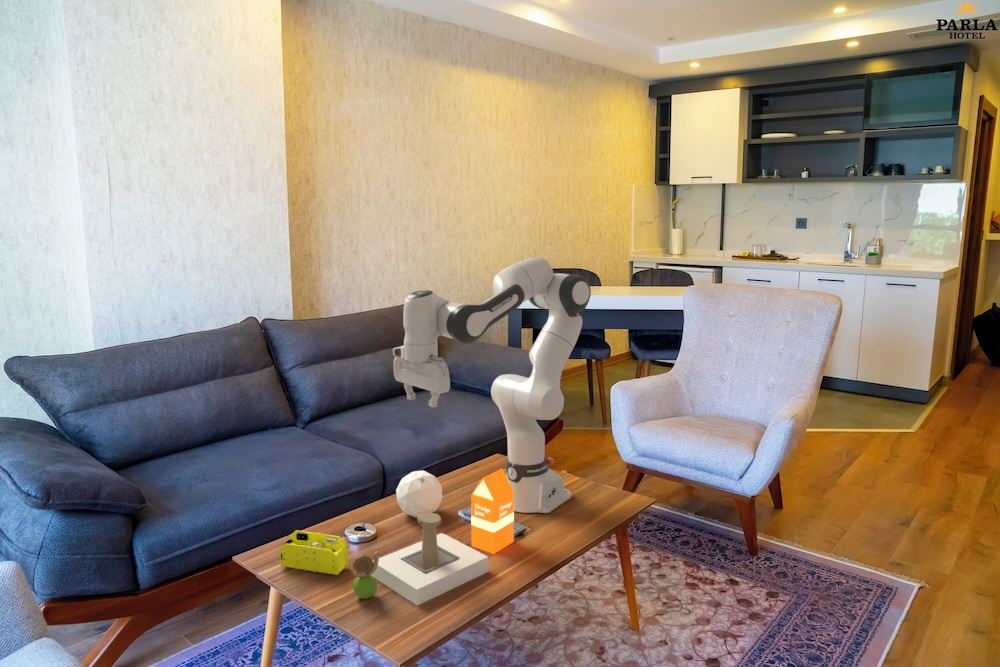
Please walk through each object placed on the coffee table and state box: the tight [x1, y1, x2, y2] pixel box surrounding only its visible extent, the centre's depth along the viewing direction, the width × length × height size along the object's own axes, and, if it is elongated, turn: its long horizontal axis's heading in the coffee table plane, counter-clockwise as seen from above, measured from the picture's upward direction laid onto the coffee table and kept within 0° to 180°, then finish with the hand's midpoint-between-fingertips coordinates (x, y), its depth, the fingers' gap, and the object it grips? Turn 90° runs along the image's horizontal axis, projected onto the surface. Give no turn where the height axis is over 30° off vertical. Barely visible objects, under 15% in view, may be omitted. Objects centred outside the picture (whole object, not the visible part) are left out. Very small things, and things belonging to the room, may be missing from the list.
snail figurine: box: [352, 546, 381, 600], centre depth 167 cm, size 5×6×12 cm
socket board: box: [371, 532, 489, 606], centre depth 178 cm, size 22×18×4 cm
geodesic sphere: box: [395, 469, 444, 519], centre depth 210 cm, size 14×14×14 cm
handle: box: [416, 512, 442, 570], centre depth 177 cm, size 5×6×15 cm
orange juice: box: [470, 468, 515, 555], centre depth 192 cm, size 8×9×20 cm
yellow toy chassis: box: [279, 529, 349, 576], centre depth 181 cm, size 16×6×8 cm, turn 74°
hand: (421, 403), depth 194 cm, fingers open, 8 cm apart
